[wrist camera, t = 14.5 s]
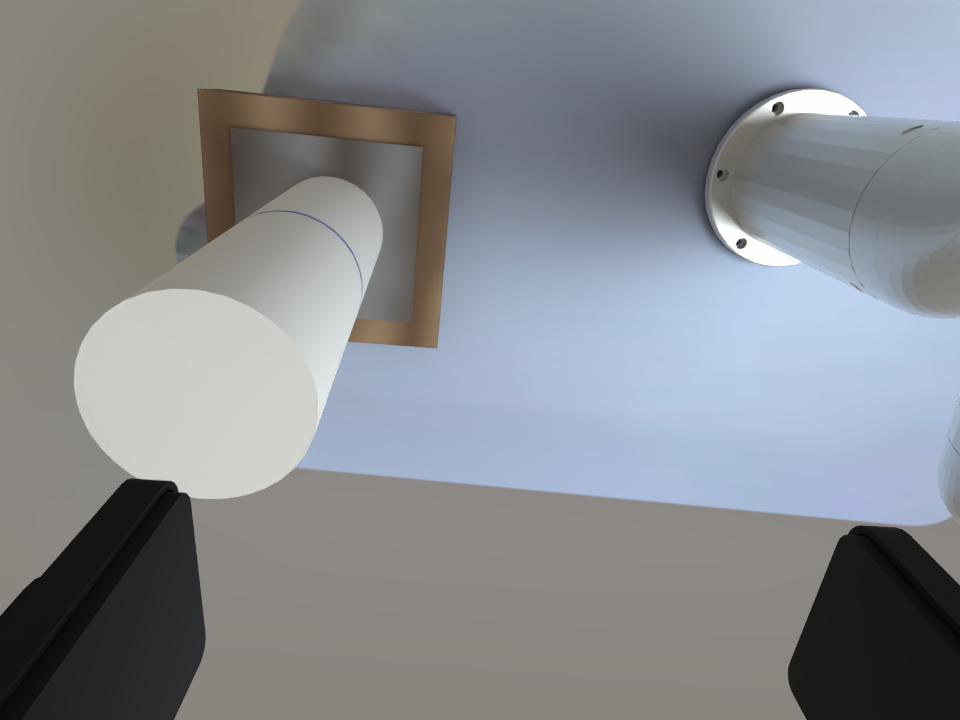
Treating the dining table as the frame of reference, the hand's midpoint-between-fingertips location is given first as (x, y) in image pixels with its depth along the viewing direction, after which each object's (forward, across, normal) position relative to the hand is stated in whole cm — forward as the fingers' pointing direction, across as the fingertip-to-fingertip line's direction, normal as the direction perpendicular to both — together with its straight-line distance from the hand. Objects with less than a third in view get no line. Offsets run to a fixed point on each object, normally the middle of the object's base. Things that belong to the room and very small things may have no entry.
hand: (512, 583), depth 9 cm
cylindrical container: (+35, +10, +3) cm, 37 cm away
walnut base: (+39, +10, +3) cm, 41 cm away
